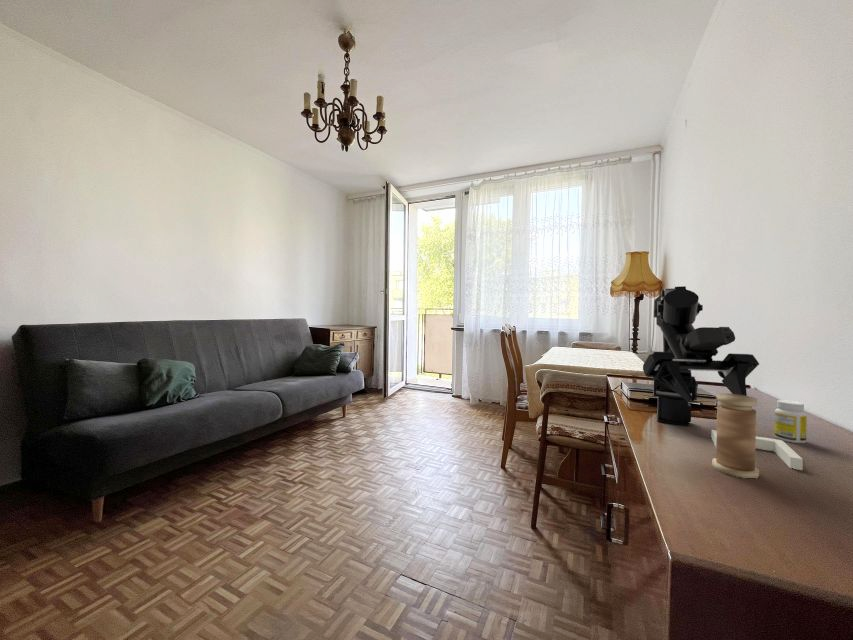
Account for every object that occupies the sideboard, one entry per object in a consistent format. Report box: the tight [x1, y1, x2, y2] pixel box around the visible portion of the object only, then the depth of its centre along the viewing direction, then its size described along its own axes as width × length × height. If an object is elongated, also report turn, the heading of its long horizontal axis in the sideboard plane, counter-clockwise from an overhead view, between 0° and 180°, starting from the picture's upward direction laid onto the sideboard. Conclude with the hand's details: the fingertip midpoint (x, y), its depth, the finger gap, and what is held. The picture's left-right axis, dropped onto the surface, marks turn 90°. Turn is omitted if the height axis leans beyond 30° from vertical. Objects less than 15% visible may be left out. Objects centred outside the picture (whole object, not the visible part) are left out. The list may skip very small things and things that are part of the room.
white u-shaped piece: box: [710, 429, 804, 471], centre depth 66 cm, size 11×11×2 cm
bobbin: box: [711, 392, 760, 479], centre depth 58 cm, size 6×6×13 cm
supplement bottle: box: [774, 399, 808, 444], centre depth 74 cm, size 5×5×8 cm
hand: (717, 401), depth 63 cm, fingers open, 9 cm apart
